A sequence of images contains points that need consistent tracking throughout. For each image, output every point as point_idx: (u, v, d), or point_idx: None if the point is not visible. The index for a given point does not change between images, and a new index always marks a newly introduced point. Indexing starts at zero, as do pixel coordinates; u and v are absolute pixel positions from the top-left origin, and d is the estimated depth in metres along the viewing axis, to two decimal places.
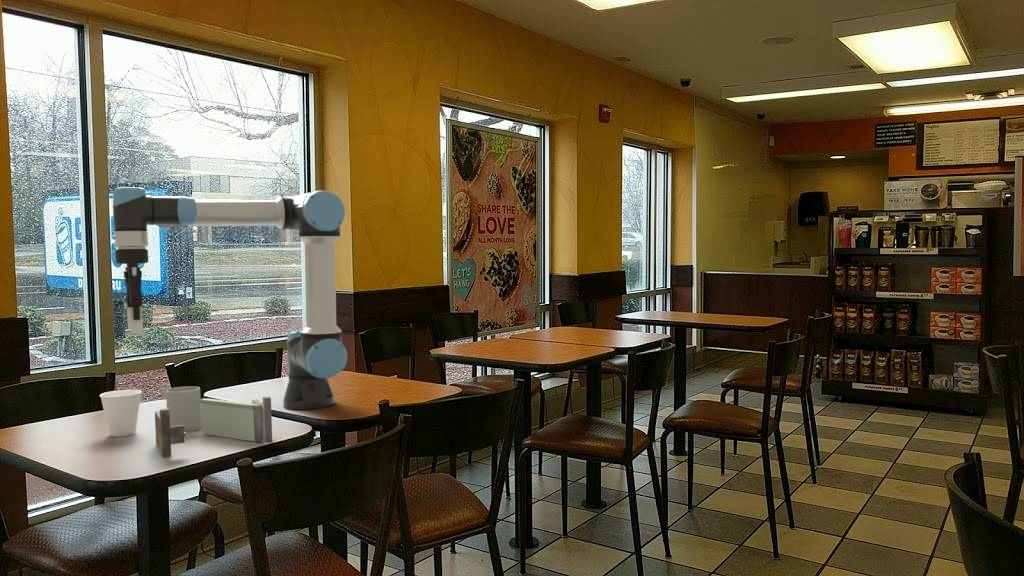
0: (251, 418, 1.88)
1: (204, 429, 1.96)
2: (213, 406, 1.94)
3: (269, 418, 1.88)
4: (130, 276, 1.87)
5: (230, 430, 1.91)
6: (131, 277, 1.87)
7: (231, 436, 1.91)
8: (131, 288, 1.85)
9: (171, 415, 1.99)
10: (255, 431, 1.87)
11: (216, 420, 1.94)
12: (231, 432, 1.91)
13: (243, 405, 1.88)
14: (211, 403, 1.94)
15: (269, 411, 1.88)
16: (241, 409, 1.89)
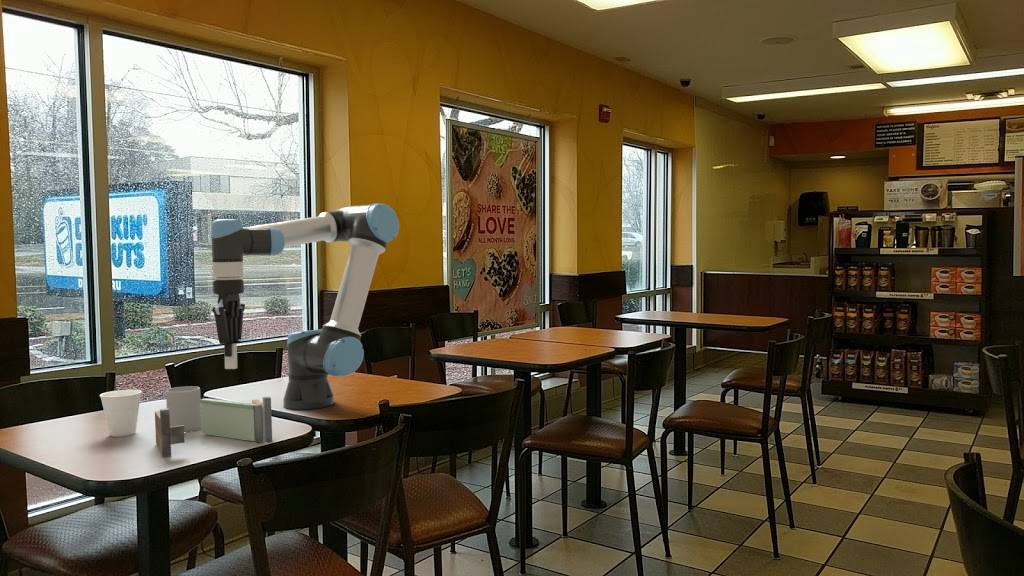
0: (251, 418, 1.88)
1: (204, 429, 1.96)
2: (213, 406, 1.94)
3: (269, 418, 1.88)
4: (215, 315, 1.92)
5: (230, 430, 1.91)
6: (216, 316, 1.92)
7: (231, 436, 1.91)
8: (218, 328, 1.93)
9: (171, 415, 1.99)
10: (255, 431, 1.87)
11: (216, 420, 1.94)
12: (231, 432, 1.91)
13: (243, 405, 1.88)
14: (211, 403, 1.94)
15: (269, 411, 1.88)
16: (241, 409, 1.89)
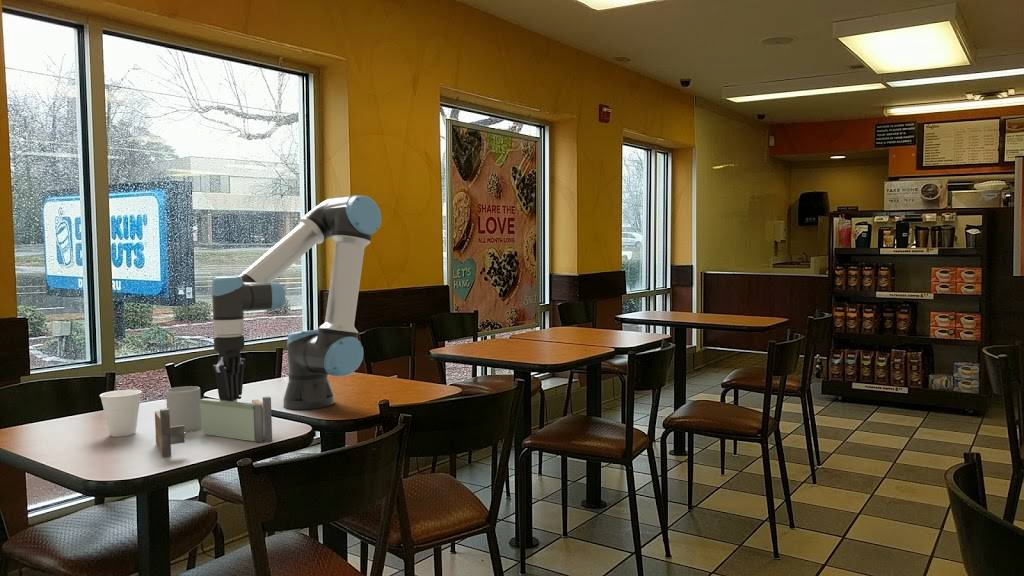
0: (251, 418, 1.87)
1: (204, 429, 1.96)
2: (213, 406, 1.94)
3: (269, 418, 1.88)
4: (215, 373, 1.92)
5: (230, 430, 1.91)
6: (217, 374, 1.92)
7: (231, 436, 1.91)
8: (218, 385, 1.93)
9: (171, 415, 1.99)
10: (255, 431, 1.87)
11: (216, 420, 1.94)
12: (231, 432, 1.91)
13: (243, 405, 1.88)
14: (211, 403, 1.94)
15: (269, 411, 1.88)
16: (241, 409, 1.89)
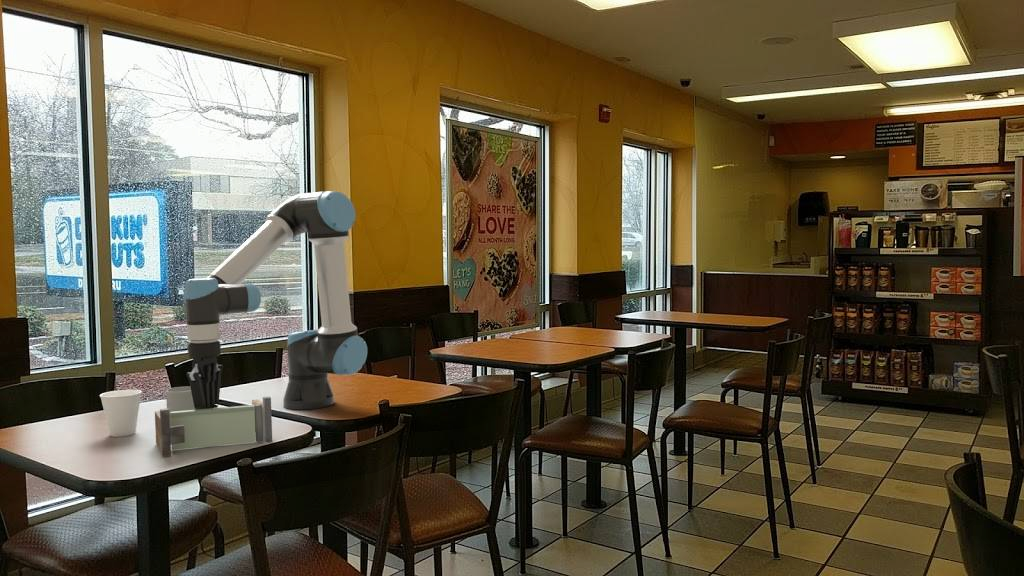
0: (251, 419, 1.86)
1: (175, 444, 1.80)
2: (191, 417, 1.81)
3: (269, 418, 1.88)
4: (190, 381, 1.82)
5: (218, 438, 1.84)
6: (191, 382, 1.82)
7: (220, 444, 1.84)
8: (193, 394, 1.83)
9: None
10: (257, 431, 1.87)
11: (196, 431, 1.82)
12: (220, 440, 1.84)
13: (240, 408, 1.85)
14: (189, 414, 1.81)
15: (269, 411, 1.88)
16: (236, 413, 1.85)
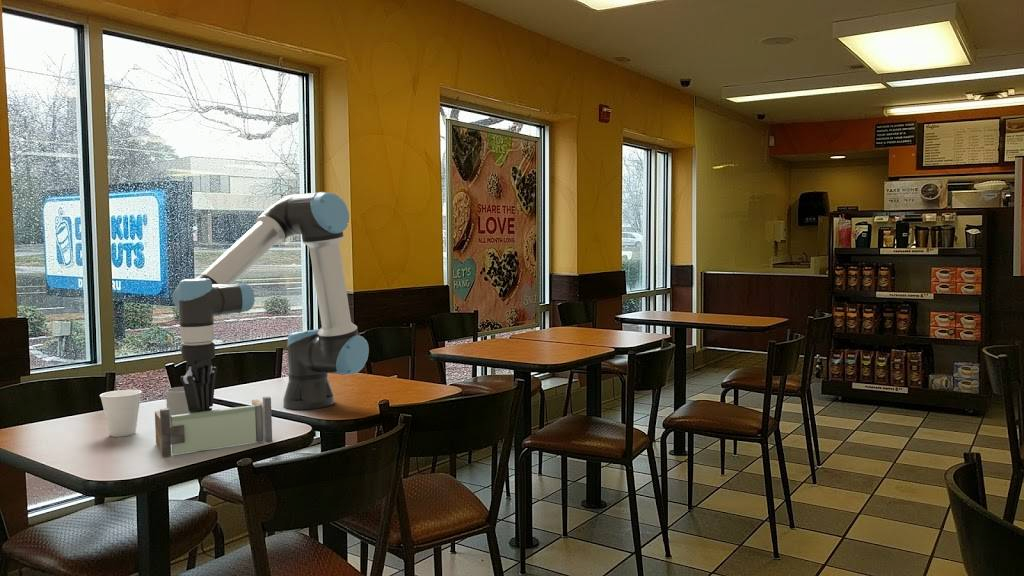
0: (252, 420, 1.86)
1: (177, 448, 1.76)
2: (193, 420, 1.78)
3: (269, 418, 1.88)
4: (184, 385, 1.78)
5: (220, 439, 1.82)
6: (185, 386, 1.78)
7: (222, 445, 1.82)
8: (187, 397, 1.79)
9: None
10: (258, 431, 1.87)
11: (198, 434, 1.79)
12: (222, 442, 1.82)
13: (241, 409, 1.84)
14: (191, 417, 1.78)
15: (269, 411, 1.88)
16: (237, 414, 1.84)
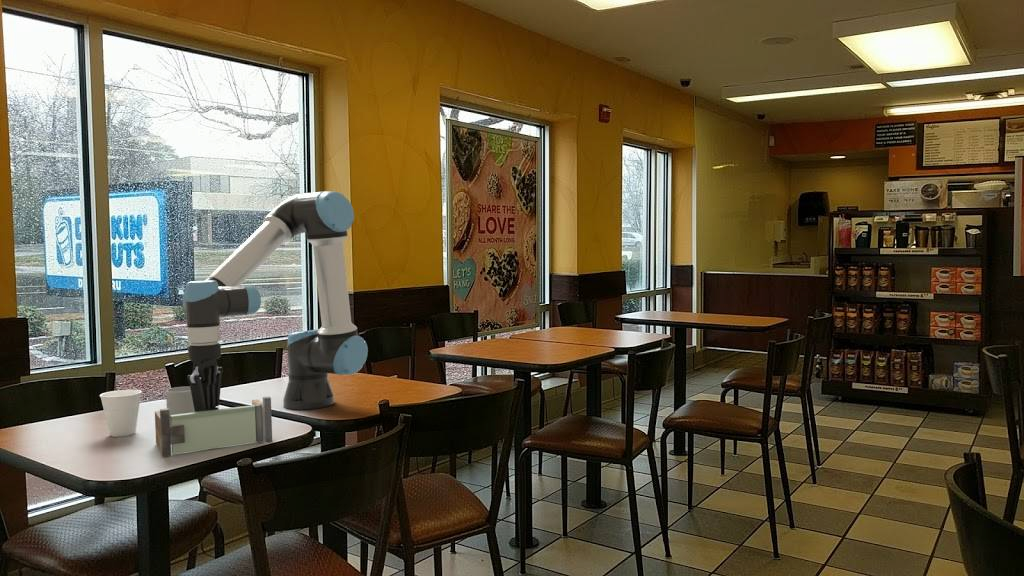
0: (252, 420, 1.86)
1: (176, 448, 1.77)
2: (193, 419, 1.79)
3: (269, 418, 1.88)
4: (190, 384, 1.81)
5: (220, 439, 1.82)
6: (191, 385, 1.81)
7: (221, 445, 1.82)
8: (193, 397, 1.82)
9: None
10: (257, 431, 1.87)
11: (197, 434, 1.79)
12: (221, 442, 1.82)
13: (241, 408, 1.84)
14: (191, 417, 1.78)
15: (269, 411, 1.88)
16: (237, 413, 1.84)
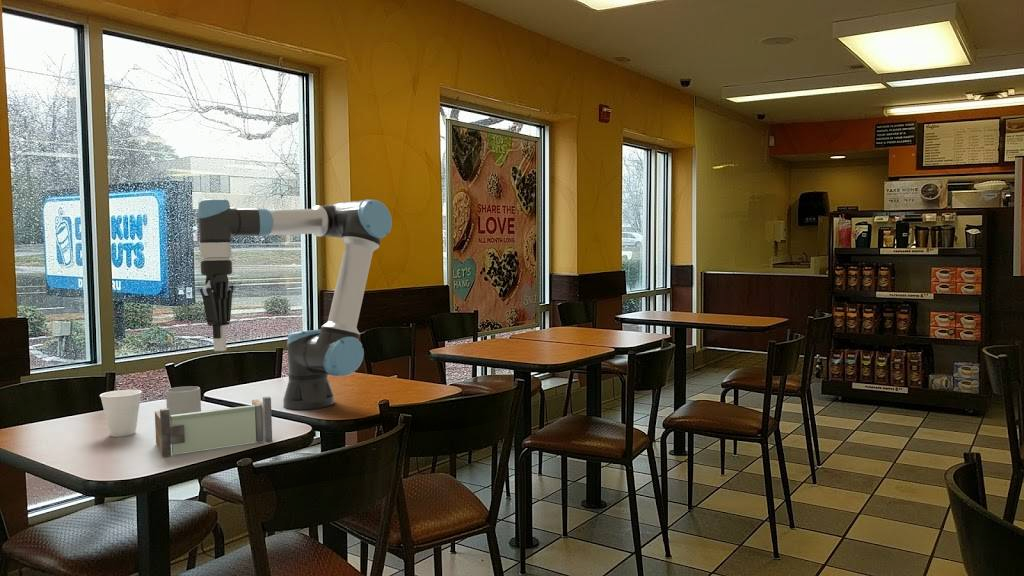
0: (252, 420, 1.86)
1: (176, 448, 1.77)
2: (193, 419, 1.79)
3: (269, 418, 1.88)
4: (203, 296, 1.89)
5: (220, 439, 1.82)
6: (204, 298, 1.89)
7: (221, 445, 1.82)
8: (206, 309, 1.90)
9: None
10: (257, 431, 1.87)
11: (197, 434, 1.79)
12: (221, 442, 1.82)
13: (241, 408, 1.84)
14: (191, 417, 1.78)
15: (269, 411, 1.88)
16: (237, 413, 1.84)
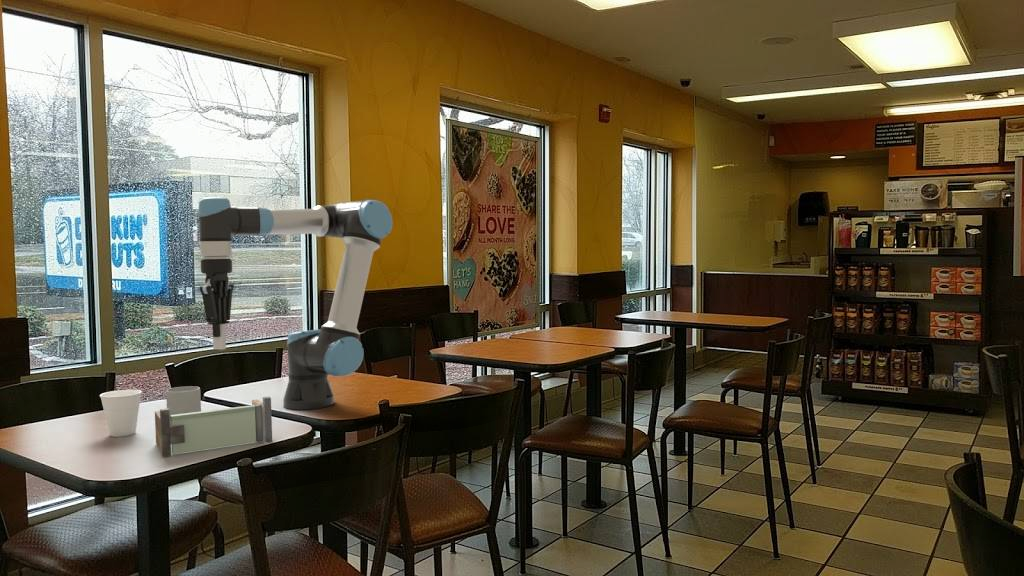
0: (252, 420, 1.86)
1: (176, 448, 1.77)
2: (193, 419, 1.79)
3: (269, 418, 1.88)
4: (203, 295, 1.89)
5: (220, 439, 1.82)
6: (204, 296, 1.89)
7: (221, 445, 1.82)
8: (205, 307, 1.90)
9: None
10: (257, 431, 1.87)
11: (197, 434, 1.79)
12: (221, 442, 1.82)
13: (241, 408, 1.84)
14: (191, 417, 1.78)
15: (269, 411, 1.88)
16: (237, 413, 1.84)
